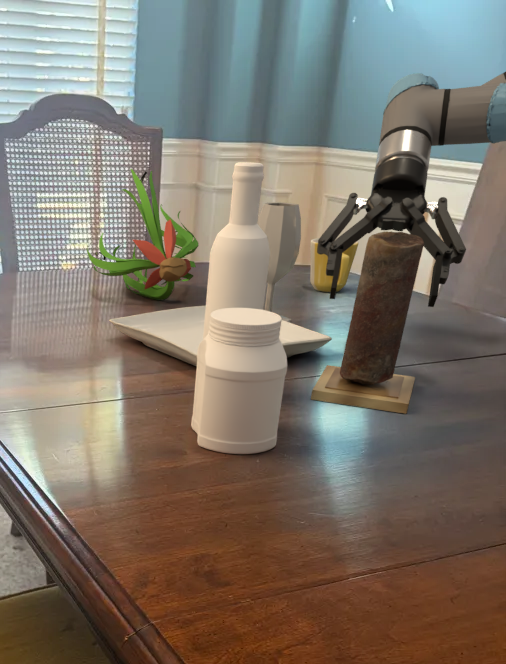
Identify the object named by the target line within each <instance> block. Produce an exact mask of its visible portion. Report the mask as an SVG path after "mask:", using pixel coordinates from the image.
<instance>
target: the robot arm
mask: <svg viewBox="0 0 506 664" xmlns="http://www.w3.org/2000/svg"><path fill="white" fill-rule="evenodd" d="M380 128H381V130H380V136H379V142H378V149H377V153H376V160H375V166H374V174H373V179H372V186H371V192H370V195H369V197H368V198H364V197H358V196H359V195H358V194H357V192H351V193H350V194H349V195H348V197H347V198H348V199H347V202H346V204H345V206H344V207H343V208H342V210H341V211H340V212H339V213H338V214H337V216H336V217H335V218H334V220H333V221H332V222H331V223H330V224H329V225H328V227H327V228H326V230H325V231H324V232H323V233H322V234H321V236H320V237H318V238H319V240H318V247H317V253H318V254H320V255H322V254H325V255H327V256H328V261H327V266H326V275H327V276H333V280H332V285H331V292H329V300H335V299H336V295H337V292H336V289H337V283H338V277H339V271H340V265H341V259H342V253H343V252H344V251H345V250H347V249H348V248H349V247H351V246H352V245H353V244H354V243H356V242H359V241H360V240H361V239H362V238H363V237H365V236H366V235H367V234H372V232H374V231H375V230H376V229H377V228H379V229H380V231H394V232H404V231H405V230H407V233H408V234H412V235H417V236H419V237H421V238H422V239H423V241H424V246H423V248H424V249H425V250H426V251H427V253H429V255H430V256H431V257H432V258H433V260H434V264H433V266H432V271H431V272H432V274H431V281H430V287H429V295H428V303H427V307H428V308H434V307H435V304H436V301H437V299H438V296H439V289H440V285H445V284H446V283H447V281H448V278H449V274H450V268H451V267H450V266H451V264H455V265H458V264H461V263H462V261H463V259H464V257H465V254H466V252H467V248H466V246H465V244H464V242H463V239H462V237H461V235H460V233H459V231H458V229H457V227H456V224H455V222H454V221H453V218H452V216H451V214H450V213H449V211H448V198H447V197H445V196H443V197H442V196H441V197H439V198H438V200H437V201H427V200H426V196H425V195H426V188H427V181H428V171H429V167H430V161H431V160H430V159H431V153H432V147H440V146H442V147H443V146H447V145H448V146H449V145H451V146H453V145H473V144H490V143H491V144H497V143H502V142H506V71H504V72H503V73H501V74H498V75H497V76H495V77H493V78H491V79H490V80H488V81H486V82H484V83H482V85H475V86H474V85H473V86H466V87H457V88H440V86H439V83H438V81H437V80H436V79H435V78H434V77H433V76H431V75H429V76H428V75H425V74H423V73H422V72H421V73H419V72H417V73H411V74H407V75H405V76H402V77H401V78H400V79H398V80H397V81H396V82H395V83H394V84H393V85H392V86H391V88H390V89H389V92H388V95H387V99H386V104H385V108H384V109H383V114H382V122H381V127H380ZM361 210H365V212H366V213H365V214H364V216H363V218H361V219H360V220H358V221H357V222H356V223H355V224H354V225H352V226H351V227H350V228H348V229H347V230H345V232H344V231H343V230H344V229H346V227H347V226H348V225H349V223H350V222H351V221H352V219H353V217H354V216H357V215H358V214H359V213H360V212H361ZM425 213H428V214H429V216H430V217H431V220H434V223H435V226H436V228H437V231H438V233H439V235H440V236H439V235H438V233H437V232H436V231H435V230H434V229H433V227H431V225H430V224H429V223H428V222H427V221H426V217H425V216H424V215H425ZM342 232H343V233H342ZM341 233H342V234H341ZM340 234H341V235H340ZM336 238H337V239H336ZM335 239H336V240H335Z"/></svg>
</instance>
